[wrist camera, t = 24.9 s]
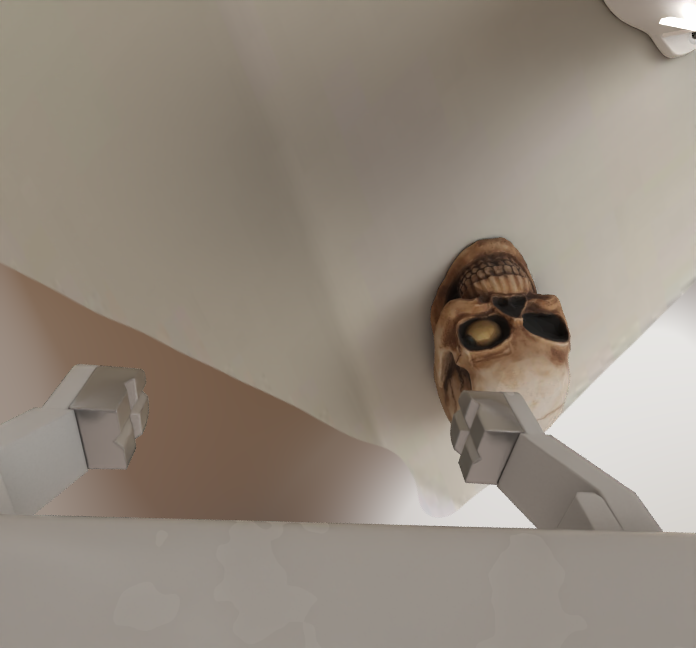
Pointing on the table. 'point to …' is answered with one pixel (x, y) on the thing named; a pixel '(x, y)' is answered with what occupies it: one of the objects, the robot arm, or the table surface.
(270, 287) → the table surface
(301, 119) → the table surface
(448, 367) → the beige skull
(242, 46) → the table surface
